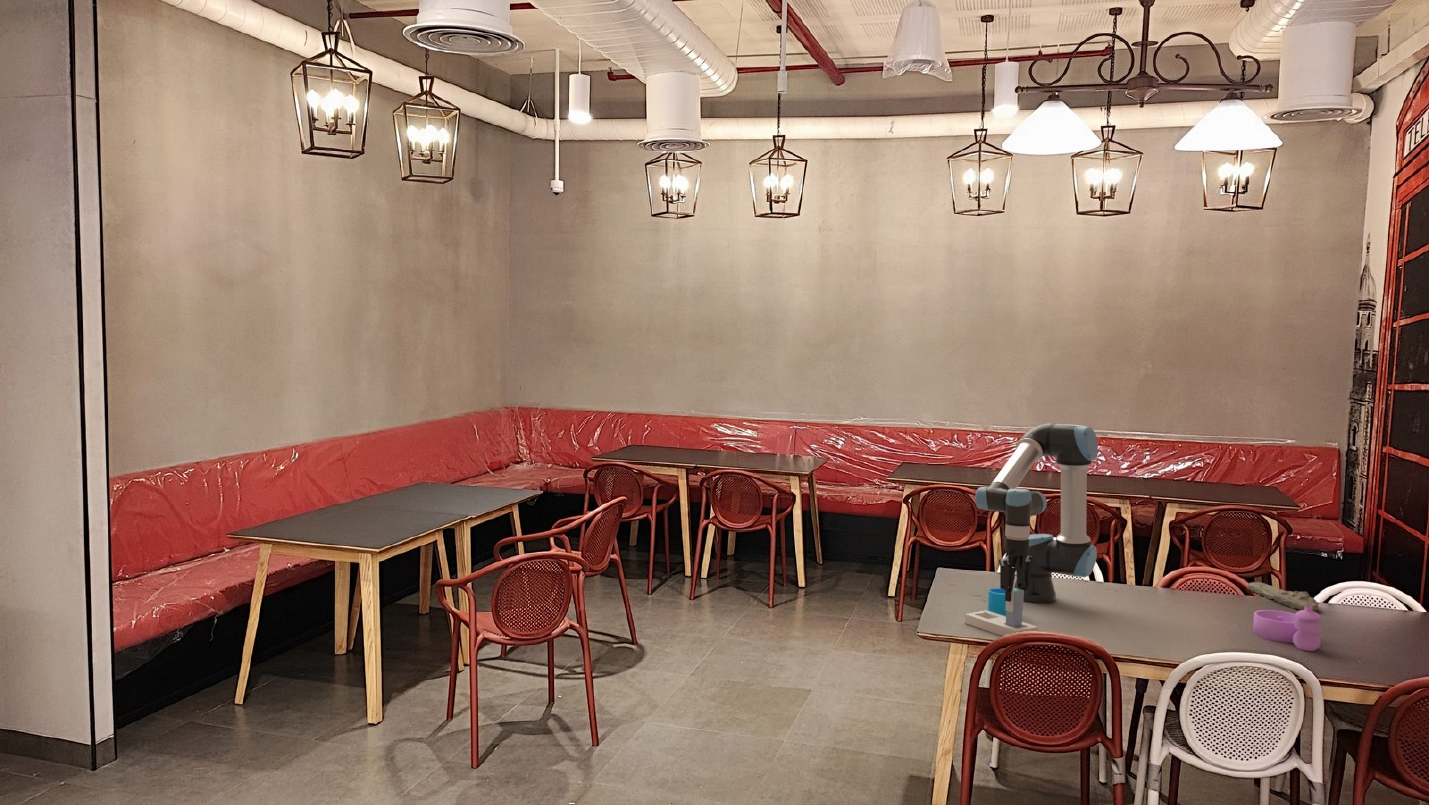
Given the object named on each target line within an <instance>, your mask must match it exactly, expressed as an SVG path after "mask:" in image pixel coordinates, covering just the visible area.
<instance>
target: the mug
mask: <svg viewBox="0 0 1429 805" xmlns="http://www.w3.org/2000/svg"><path fill="white" fill-rule="evenodd" d="M987 593H988V594H987V596H988V598H987V611H990V612H993V613H997V614H1000V615H1003V616H1006V601H1005V590H1003V589H1001V588H998V587H997V588H995V587H994V588H989V589H988V592H987Z"/></svg>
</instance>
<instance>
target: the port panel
mask: <svg viewBox="0 0 1429 805" xmlns="http://www.w3.org/2000/svg"><path fill="white" fill-rule="evenodd" d="M964 624H967V625H970V626H973V627H975V628H979V629H980V630H983V631H987V632H989V633H992V634H995V635H999V636H1000V637H1001V636H1002V637H1004V636H1003V635H1006V634H1012V633H1016V632H1023V631H1038V632H1039V626H1038V625H1033V624H1030V623H1027V622H1024V621H1022V626H1020V627H1015V628H1014V627H1011V626H1008V625H1006V616H1003V615H1000V614H997V613H993V612H990V611H988V609H985V610H980V611H974V612H969V613H965V614H964Z"/></svg>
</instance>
